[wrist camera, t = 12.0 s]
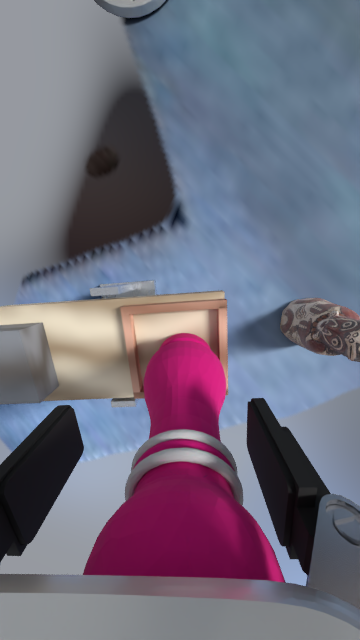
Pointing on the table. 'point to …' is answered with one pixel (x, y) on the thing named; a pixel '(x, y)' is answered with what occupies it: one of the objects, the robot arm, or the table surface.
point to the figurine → (322, 327)
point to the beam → (99, 343)
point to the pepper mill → (184, 483)
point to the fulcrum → (117, 292)
